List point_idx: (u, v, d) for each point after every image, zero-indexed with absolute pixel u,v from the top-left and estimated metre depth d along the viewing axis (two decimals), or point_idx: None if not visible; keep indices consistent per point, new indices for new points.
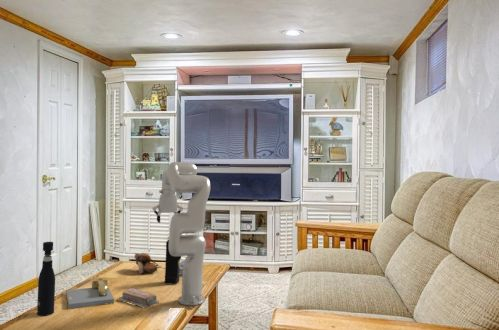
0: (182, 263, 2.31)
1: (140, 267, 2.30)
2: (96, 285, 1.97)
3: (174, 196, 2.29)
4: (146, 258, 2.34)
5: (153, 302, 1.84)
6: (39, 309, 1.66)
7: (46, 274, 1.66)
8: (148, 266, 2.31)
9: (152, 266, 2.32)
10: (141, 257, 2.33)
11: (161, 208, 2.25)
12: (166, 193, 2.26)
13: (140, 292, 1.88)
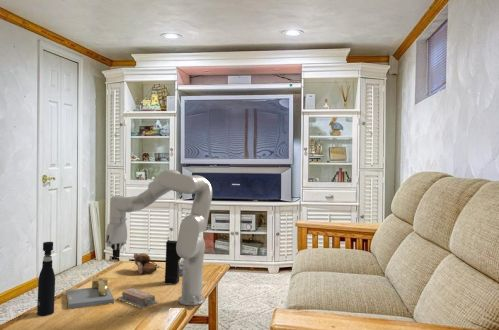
0: (182, 263, 2.31)
1: (140, 267, 2.29)
2: (96, 285, 1.97)
3: None
4: (145, 258, 2.33)
5: (151, 303, 1.83)
6: (39, 309, 1.66)
7: (46, 274, 1.66)
8: (148, 266, 2.31)
9: (152, 266, 2.32)
10: (140, 257, 2.32)
11: None
12: None
13: (139, 292, 1.87)
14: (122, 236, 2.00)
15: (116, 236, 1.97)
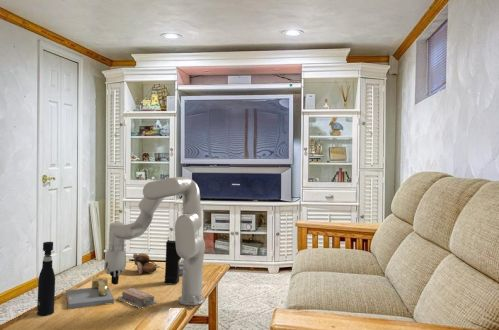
0: (182, 263, 2.31)
1: (139, 267, 2.29)
2: (96, 285, 1.97)
3: None
4: (145, 258, 2.33)
5: (150, 303, 1.83)
6: (39, 309, 1.66)
7: (46, 274, 1.66)
8: (147, 266, 2.31)
9: (151, 266, 2.32)
10: (140, 257, 2.32)
11: None
12: None
13: (139, 292, 1.87)
14: (121, 263, 2.00)
15: (115, 263, 1.98)
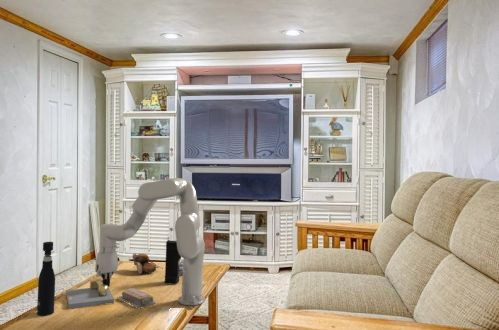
0: (181, 263, 2.31)
1: (139, 267, 2.29)
2: (94, 285, 1.96)
3: None
4: (145, 258, 2.33)
5: (149, 303, 1.82)
6: (39, 309, 1.66)
7: (46, 274, 1.66)
8: (147, 266, 2.31)
9: (151, 266, 2.32)
10: (140, 257, 2.32)
11: None
12: None
13: (138, 292, 1.87)
14: (112, 265, 1.97)
15: (106, 265, 1.94)
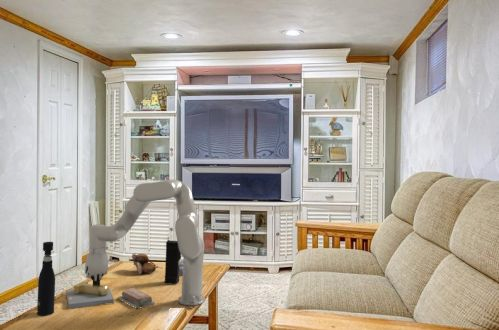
0: (181, 263, 2.32)
1: (139, 268, 2.29)
2: (80, 290, 1.89)
3: None
4: (144, 258, 2.33)
5: (147, 303, 1.82)
6: (39, 309, 1.66)
7: (46, 274, 1.66)
8: (147, 266, 2.31)
9: (151, 266, 2.32)
10: (139, 257, 2.31)
11: None
12: None
13: (138, 292, 1.87)
14: (102, 266, 1.92)
15: (96, 267, 1.89)
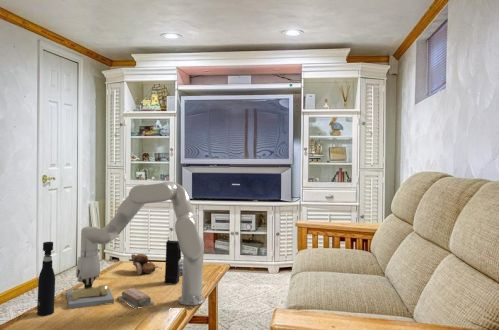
0: (181, 263, 2.32)
1: (139, 268, 2.28)
2: (78, 295, 1.82)
3: None
4: (144, 258, 2.32)
5: (146, 304, 1.81)
6: (39, 309, 1.66)
7: (46, 274, 1.66)
8: (147, 266, 2.31)
9: (151, 266, 2.32)
10: (139, 258, 2.31)
11: None
12: None
13: (137, 292, 1.87)
14: (94, 270, 1.88)
15: (87, 270, 1.85)
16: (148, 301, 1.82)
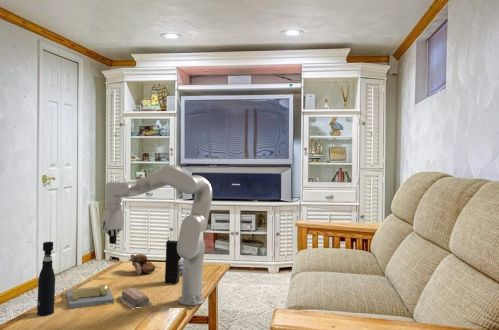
0: (181, 263, 2.32)
1: (139, 268, 2.28)
2: (78, 295, 1.82)
3: None
4: (143, 259, 2.32)
5: (144, 304, 1.81)
6: (39, 309, 1.66)
7: (46, 274, 1.66)
8: (146, 266, 2.30)
9: (150, 266, 2.32)
10: (139, 258, 2.31)
11: None
12: None
13: (136, 293, 1.87)
14: (118, 222, 1.99)
15: (112, 222, 1.96)
16: (146, 301, 1.81)
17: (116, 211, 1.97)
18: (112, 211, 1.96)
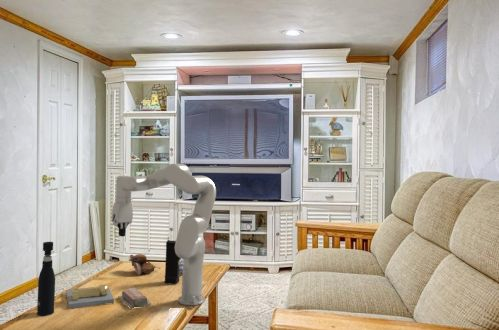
0: (181, 262, 2.32)
1: (138, 268, 2.28)
2: (78, 295, 1.82)
3: None
4: (143, 259, 2.32)
5: (142, 304, 1.80)
6: (39, 309, 1.66)
7: (46, 274, 1.66)
8: (146, 267, 2.30)
9: (150, 266, 2.31)
10: (138, 258, 2.30)
11: None
12: None
13: (135, 293, 1.87)
14: (128, 215, 2.04)
15: (122, 215, 2.01)
16: (144, 302, 1.81)
17: (126, 204, 2.02)
18: (122, 204, 2.01)
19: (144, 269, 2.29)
